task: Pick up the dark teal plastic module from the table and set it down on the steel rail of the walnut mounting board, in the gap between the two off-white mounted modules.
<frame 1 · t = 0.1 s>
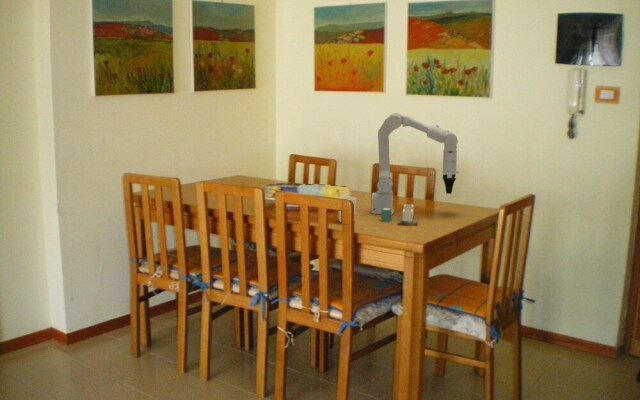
hand: (448, 192, 300), 10 cm above the table, tool pointing down, fingers open, 7 cm apart
mounted module 1: (407, 219, 282), resting on mounting board
mounting board: (407, 221, 288), on the table
mounted module 2: (408, 214, 293), resting on mounting board
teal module: (386, 220, 289), on the table
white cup: (347, 222, 287), on the table
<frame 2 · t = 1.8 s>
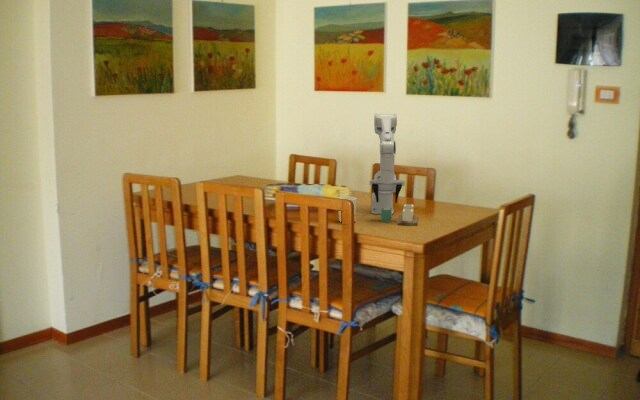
hand: (386, 202, 288), 8 cm above the table, tool pointing down, fingers open, 7 cm apart
nothing on the table moved.
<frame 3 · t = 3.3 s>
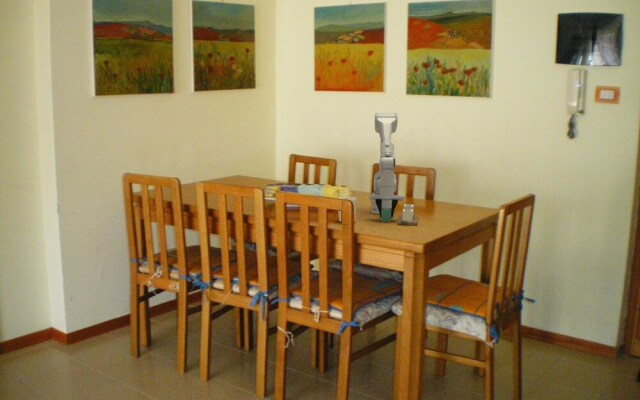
hand: (386, 217, 289), 1 cm above the table, tool pointing down, fingers closed on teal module, 4 cm apart
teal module: (386, 220, 289), on the table, touching gripper
everything else where it was.
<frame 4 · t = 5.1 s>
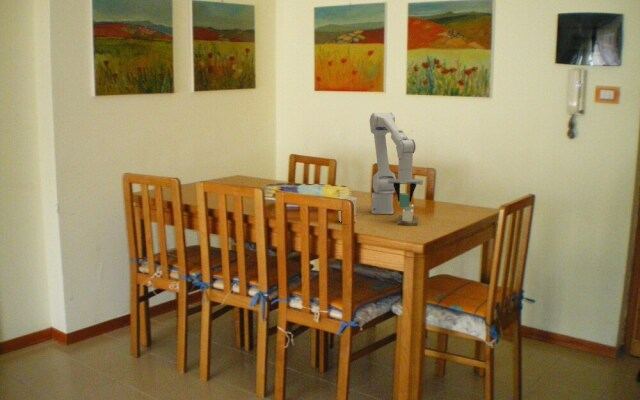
hand: (404, 201, 287), 8 cm above the table, tool pointing down, fingers closed on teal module, 4 cm apart
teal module: (404, 206, 287), point 6 cm above the table, touching gripper
everything else where it was.
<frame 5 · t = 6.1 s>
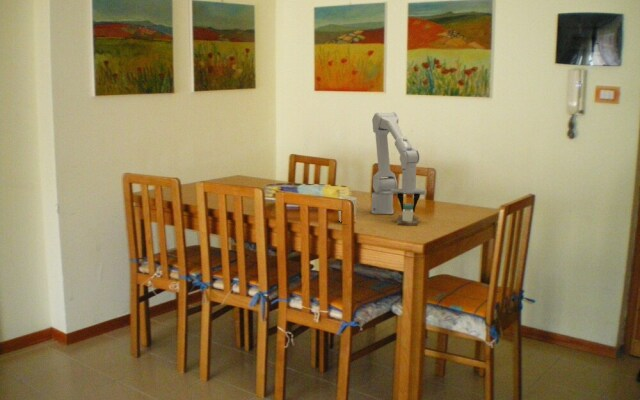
hand: (408, 211, 287), 4 cm above the table, tool pointing down, fingers closed on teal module, 4 cm apart
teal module: (408, 216, 287), point 2 cm above the table, touching gripper
everything else where it was.
when the fingers open (4 cm above the table, at t = 6.8 s): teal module stays where it is, resting on mounting board.
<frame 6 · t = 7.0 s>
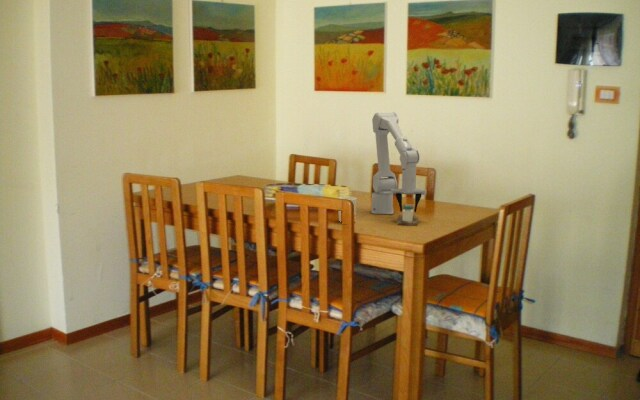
hand: (408, 211, 287), 4 cm above the table, tool pointing down, fingers open, 5 cm apart
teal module: (408, 217, 287), point 2 cm above the table, touching mounting board
everything else where it was.
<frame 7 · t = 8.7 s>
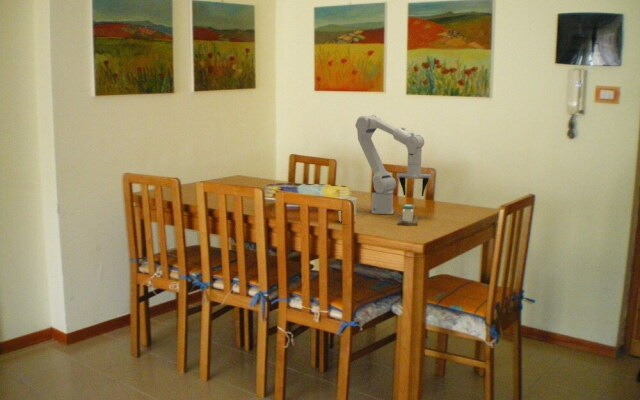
hand: (413, 195, 296), 9 cm above the table, tool pointing down, fingers open, 7 cm apart
nothing on the table moved.
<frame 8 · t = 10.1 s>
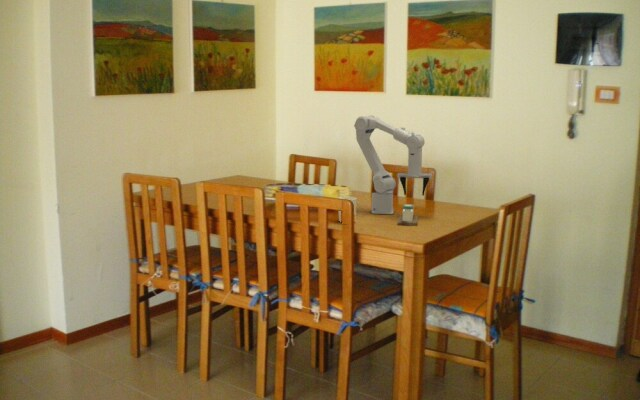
hand: (414, 194, 297), 9 cm above the table, tool pointing down, fingers open, 7 cm apart
nothing on the table moved.
at the end: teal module 0.2 cm off-centre on the mounting board, point 1.7 cm above the mounting board's base; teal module tilted 0°; the gripper is holding nothing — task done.
